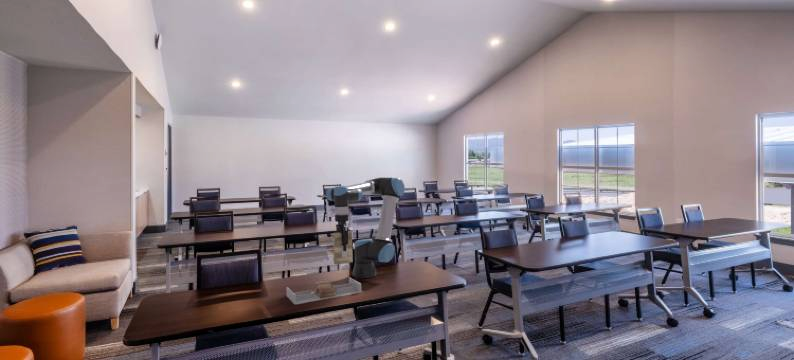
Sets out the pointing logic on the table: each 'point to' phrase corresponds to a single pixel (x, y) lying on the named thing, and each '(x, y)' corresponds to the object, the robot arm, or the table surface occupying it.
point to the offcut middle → (326, 290)
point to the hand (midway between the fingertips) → (342, 255)
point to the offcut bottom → (324, 294)
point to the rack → (311, 296)
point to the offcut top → (323, 285)
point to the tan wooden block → (338, 249)
